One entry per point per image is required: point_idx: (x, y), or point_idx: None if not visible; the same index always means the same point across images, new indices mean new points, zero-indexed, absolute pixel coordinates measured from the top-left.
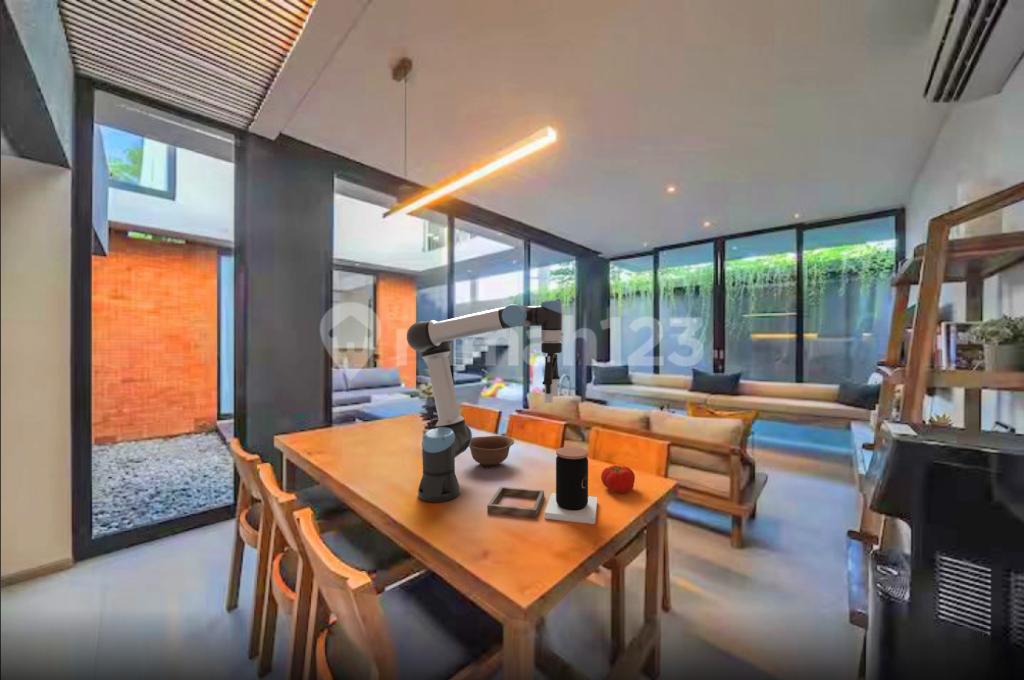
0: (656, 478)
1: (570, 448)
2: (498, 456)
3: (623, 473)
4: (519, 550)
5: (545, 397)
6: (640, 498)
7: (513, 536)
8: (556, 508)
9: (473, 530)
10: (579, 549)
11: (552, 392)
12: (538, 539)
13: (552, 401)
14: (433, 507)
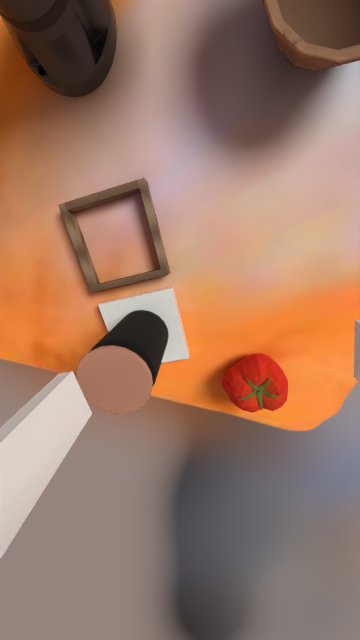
0: (327, 414)
1: (133, 374)
2: (291, 50)
3: (239, 405)
4: (15, 305)
5: (34, 403)
6: None
7: (35, 283)
8: (119, 315)
9: (10, 221)
10: (61, 362)
11: (38, 486)
12: (50, 315)
13: (81, 420)
14: (17, 81)
